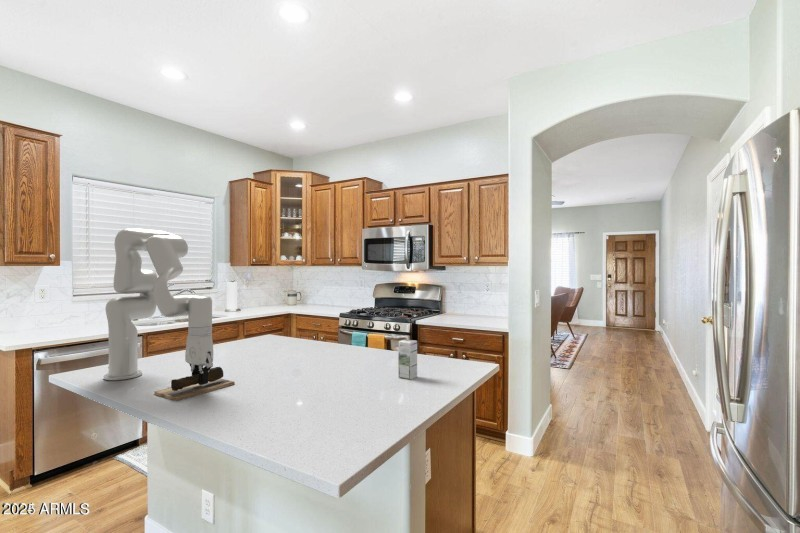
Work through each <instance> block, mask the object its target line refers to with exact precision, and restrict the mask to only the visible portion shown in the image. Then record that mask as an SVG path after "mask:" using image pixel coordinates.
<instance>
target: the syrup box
mask: <svg viewBox="0 0 800 533" xmlns="http://www.w3.org/2000/svg"><path fill="white" fill-rule="evenodd" d="M397 342H398V343H397V344H398V349H397V350H398V353H397V354H398V359H397V360H398V361H397V363H398V378H400V379H405V380H413V379H415V378H417V377H418V340H415V339H414V340H413V339H401V340H399V341H397Z"/></svg>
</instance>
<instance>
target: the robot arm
mask: <svg viewBox="0 0 800 533" xmlns="http://www.w3.org/2000/svg"><path fill="white" fill-rule="evenodd" d="M188 250H189V247H188V243H187V241H186V240H185V239H184V238H183V237H181V236H179V235H176V234H173V233H170V232H167V231H164V230H156V229H146V228H134V227H133V228H132V227H131V228H123V229H122V230H119V231H118V233H117V234H116V235H115V237H114V251H115V264H114V265H115V267H114V276H113V289H114V291H115V292H116V293H117V294H123V295H126V296H118V297H114V298H111V299H109V300H108V301H107V302H106V304H105V309H104V310H105V316H106V319H107V325H108V326H107V327H108V366H107V369H108V373H106V374H104V375H103V379H104V380H105V381H122V380H129V379H134V378H137V377H139V376H142V374H143V371H142V370H140V369H138V363H139V362H138V360H139V359H138V351H139V350H138V348H139V347H138V334H139V333H138V329H137V326H136V325H135V324H134V322H133V321H134V320H142V319H148V318H151V317H153V315H154V314H155V312H156V310H157V308H158V311H159V312H160V314H161V315H162V316H164V317H165V318H176V317H187V318H188V320H187V322H188V323H187V324H188V326H187V328H188V330H187V332H188V333H187V337H186V343H185V353H184V354H185V355H184V356H185V357H184V358H185V359H184V360H185V362H186V363H187V364H189V366H190V372H191V376H193V375H197V374H199V385H203V384H207V383H208V372H209V369H210V368H214V364H213V362H214V342H213V299H212V297H211V296H208V295H197V294H180V295H178V294H177V295H176V294H175V295H172V294H171V291H170V290H169V287H168V282H169V281H171V280H173V279H175V278H177V277H179V276H181V274H182V273H183V271H184V266H183V265H182V263H181V261H180V258H184V257H186V255H187V254H188ZM140 251H141V252H147V254H148V256H149V258H150V261H151V262H152V265H153V267H154V269H155V271H156V272H155V271H154V270H151V269H142V262H143V261H142V260H143V259H142V257H141V255H140V253H139V252H140ZM129 294H139V295H129ZM127 295H129V296H127Z"/></svg>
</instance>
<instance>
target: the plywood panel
mask: <svg viewBox="0 0 800 533" xmlns="http://www.w3.org/2000/svg"><path fill="white" fill-rule="evenodd" d="M233 385H235V381H233V380H229V379H225V378H220V379H218V380H216V381H213V382H209V381H208V383H207V384H203V385H199V384H195V385H191V386H188V387H185V388H182V389H178V390H177V391H173V390H172V388H171V386H170V387H167V388H163V389H160V390H155V391H154V392H153V394H154V395H155V396H159V397H161V398H164V397H165V399H168V400H171V399H172V400H171V401H174V400H175V402H176V401H177V400H178V401H182V400H184V398H185V399H188V398H192V397H195V396H198V395H202V394H206V393H209V392H214V391H216V390H219V389H222V388H226V387H230V386H233Z"/></svg>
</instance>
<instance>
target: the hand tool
mask: <svg viewBox="0 0 800 533" xmlns="http://www.w3.org/2000/svg"><path fill="white" fill-rule="evenodd" d="M223 377H224V371H223V368H222V367H221V366H215V367H211V368H210V369H209V372H208V381H209V382H213V381H216V380H218V379H220V378H221V379H223ZM170 382H171V383H170V385H171V386H170V387H171V388H172V390H173V391H177V390H178V389H182V388H185V387H188V386H191V385H195V384H199V374H197V375H193V376H192V375H190V376H185V377H181V378H174V379H171V381H170Z"/></svg>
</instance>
